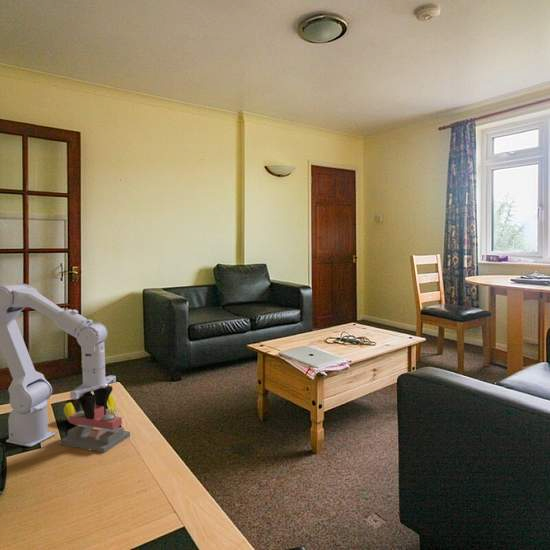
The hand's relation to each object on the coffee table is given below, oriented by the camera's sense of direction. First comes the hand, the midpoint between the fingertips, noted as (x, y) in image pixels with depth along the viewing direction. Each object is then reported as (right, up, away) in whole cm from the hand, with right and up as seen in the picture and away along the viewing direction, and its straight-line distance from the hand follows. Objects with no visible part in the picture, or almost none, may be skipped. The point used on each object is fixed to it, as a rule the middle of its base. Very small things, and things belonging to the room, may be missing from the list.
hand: (95, 415), depth 107 cm
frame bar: (0, -2, 0) cm, 2 cm away
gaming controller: (-8, -7, +15) cm, 18 cm away
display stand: (0, -7, 0) cm, 7 cm away
